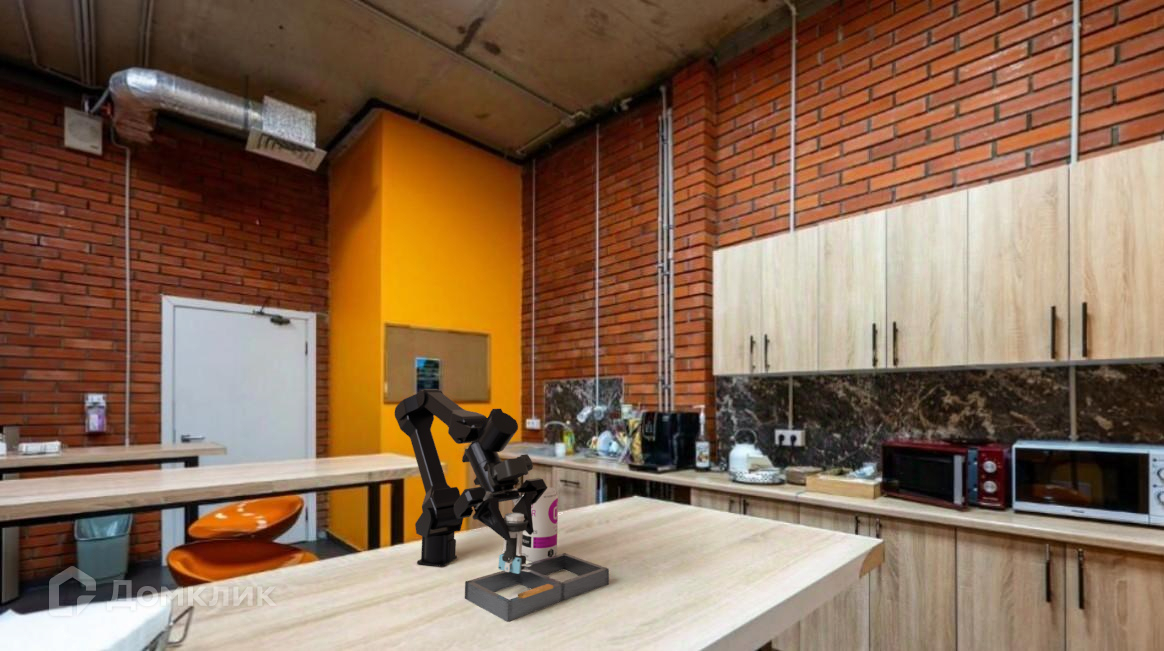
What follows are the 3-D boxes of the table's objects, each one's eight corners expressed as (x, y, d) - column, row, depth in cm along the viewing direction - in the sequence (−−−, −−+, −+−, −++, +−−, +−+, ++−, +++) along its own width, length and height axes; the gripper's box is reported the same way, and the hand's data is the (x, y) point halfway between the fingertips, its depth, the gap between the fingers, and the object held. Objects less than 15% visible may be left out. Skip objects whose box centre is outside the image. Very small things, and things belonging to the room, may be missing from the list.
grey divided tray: (464, 598, 101) (465, 579, 102) (564, 567, 119) (564, 551, 119) (508, 622, 92) (508, 600, 92) (609, 584, 109) (609, 566, 110)
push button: (537, 570, 103) (540, 515, 104) (521, 578, 98) (524, 520, 99) (507, 563, 106) (510, 510, 107) (490, 571, 101) (494, 515, 102)
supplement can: (561, 553, 128) (563, 487, 129) (548, 565, 120) (550, 494, 121) (529, 549, 130) (531, 485, 132) (514, 560, 123) (516, 491, 124)
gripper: (464, 444, 100) (498, 519, 91) (542, 437, 113) (578, 503, 104) (440, 481, 105) (469, 556, 96) (517, 471, 118) (550, 536, 109)
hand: (520, 536), depth 101 cm, fingers closed on push button, 5 cm apart
